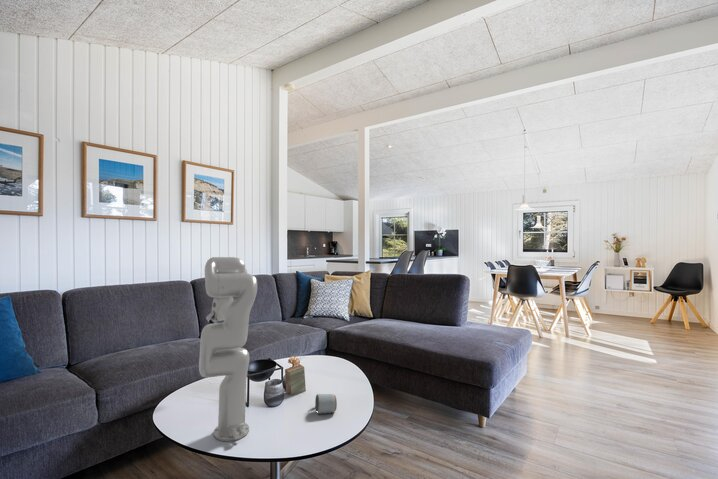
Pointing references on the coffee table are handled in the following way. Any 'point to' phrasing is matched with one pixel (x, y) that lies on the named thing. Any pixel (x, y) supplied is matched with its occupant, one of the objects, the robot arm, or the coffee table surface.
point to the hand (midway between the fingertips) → (222, 331)
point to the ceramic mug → (325, 403)
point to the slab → (295, 380)
